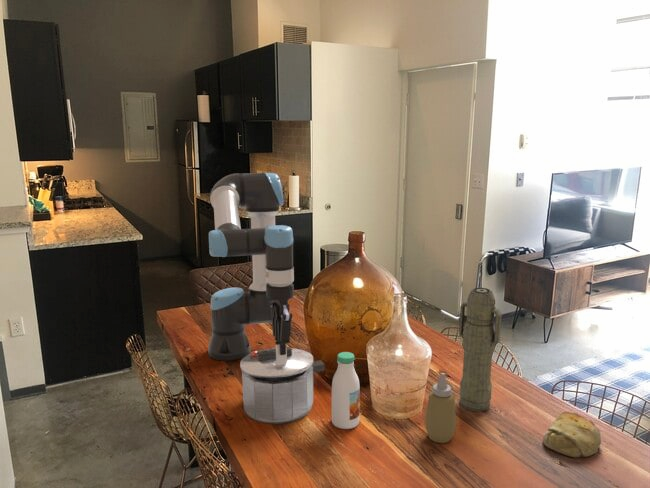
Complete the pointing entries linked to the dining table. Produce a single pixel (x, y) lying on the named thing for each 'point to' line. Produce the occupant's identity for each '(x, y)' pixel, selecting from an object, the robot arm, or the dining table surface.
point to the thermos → (478, 348)
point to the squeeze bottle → (441, 412)
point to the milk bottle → (345, 393)
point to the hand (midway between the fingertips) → (281, 363)
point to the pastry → (573, 436)
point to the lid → (266, 366)
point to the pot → (279, 396)
